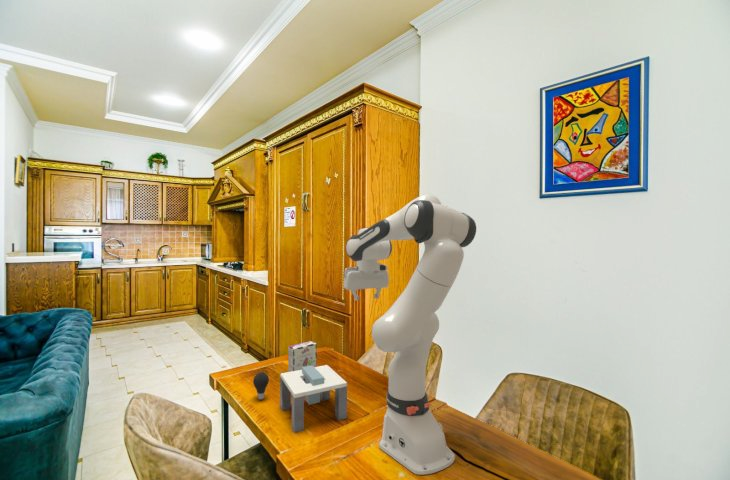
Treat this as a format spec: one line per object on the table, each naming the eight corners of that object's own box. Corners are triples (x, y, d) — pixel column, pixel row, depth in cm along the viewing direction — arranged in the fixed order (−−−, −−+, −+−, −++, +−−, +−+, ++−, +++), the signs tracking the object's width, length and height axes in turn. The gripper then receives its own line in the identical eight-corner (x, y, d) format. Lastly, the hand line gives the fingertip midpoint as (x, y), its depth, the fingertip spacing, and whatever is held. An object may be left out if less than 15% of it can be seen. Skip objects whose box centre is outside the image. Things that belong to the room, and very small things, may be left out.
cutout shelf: (346, 418, 110) (346, 382, 110) (294, 432, 102) (294, 394, 102) (326, 396, 126) (327, 364, 126) (280, 406, 118) (280, 373, 118)
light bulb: (264, 403, 120) (264, 376, 120) (250, 402, 121) (250, 375, 121) (271, 396, 126) (271, 370, 126) (258, 395, 127) (258, 369, 127)
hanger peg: (324, 407, 110) (324, 377, 110) (312, 410, 108) (312, 379, 108) (312, 392, 120) (312, 365, 120) (301, 395, 119) (301, 367, 119)
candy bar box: (310, 378, 143) (311, 340, 143) (317, 381, 139) (317, 343, 139) (287, 385, 135) (287, 345, 135) (293, 389, 132) (293, 348, 132)
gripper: (347, 267, 130) (347, 302, 130) (391, 266, 140) (390, 298, 140) (341, 266, 136) (340, 299, 136) (383, 265, 145) (382, 296, 145)
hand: (366, 299), depth 138 cm, fingers open, 8 cm apart
